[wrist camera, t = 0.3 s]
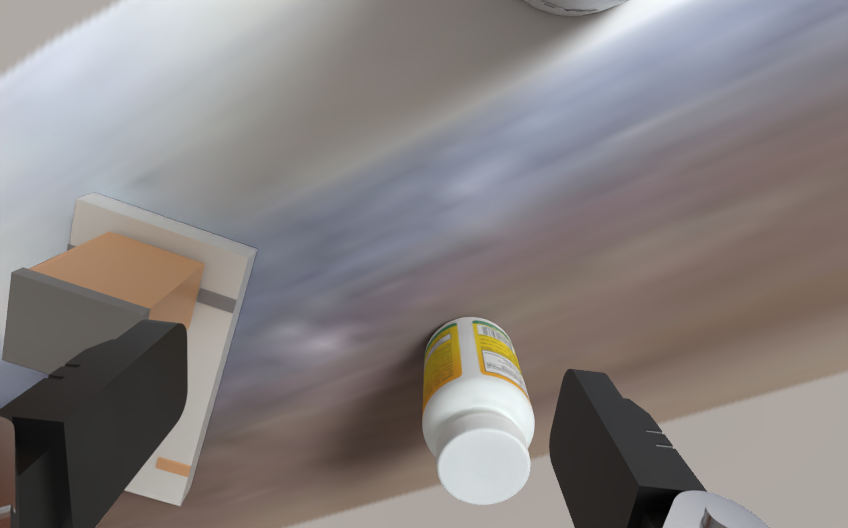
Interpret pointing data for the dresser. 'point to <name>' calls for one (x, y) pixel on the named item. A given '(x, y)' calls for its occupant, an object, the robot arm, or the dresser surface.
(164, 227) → the fader plate
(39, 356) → the fader knob
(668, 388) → the dresser surface
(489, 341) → the supplement bottle
